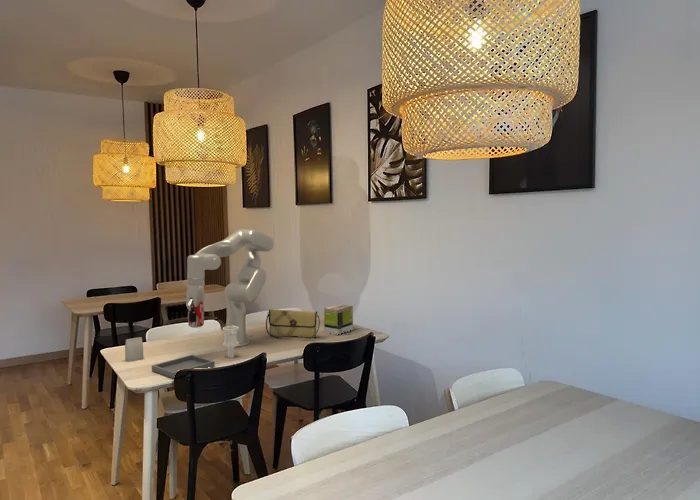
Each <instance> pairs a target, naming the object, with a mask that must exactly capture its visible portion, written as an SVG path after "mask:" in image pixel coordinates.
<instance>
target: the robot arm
mask: <svg viewBox="0 0 700 500" xmlns="http://www.w3.org/2000/svg"><path fill="white" fill-rule="evenodd" d="M274 245H275V242H274V239H273V238H272V237H271V236H270V235H268V234H266V233H264V232H261V231H259V230H256V229H249V228H239V229H237V230H236V231H234V232H233V233H231V234H230V235H228V236H227V237H226V238H224V239H222V240H221V241H218V242H217V241H216V242H215V243H213V244H210V245H207V246H204V247H203V248H201V249H200V250H198V251H197V252H196V253H195V254H190V255H188V256H187V261H186V262H187V263H186V264H187V268H186V271H187V272H186V274H187V278H186V279H187V281H186V282H187V288H186V300H185V302H186V303H185V305H186V307H187V314H188V313H189V322H196V313H195V311H196V307H197V306H198V304H199V302H200V301H202V302H203V304H204V303H205V287H204V286H205V285H206V284H205V280H206V279H205V270H206V271H207V270H208V271H209V270H210V271H214V270H217V269H219V268H220V266H221V264H222V259H221V258H225V257H229V256H232V255H234V254H235V253H236V252H238V251H239V250H241V249H242V248H243V247H244V248H245V253H246V254H245V255H246V256H245V259H244V261H243V263H242V265H241V267H240V268H239V269H238V272H237V273H236V280H237V282H233V283H232V282H231V283H229V284H227V285H226V287H225V288H224V292H223V293H224V299H225V304H226V327H227V326H233V325H234V326H237V327H238V331H237V342H239V345H238V346H236V347H237V348H238V347H239V348H240V347H244V346H247V345H249V343H250V341H249V340H248V339H250V338H253V336H254V334H253V332H252V333H247V328H246V327H247V325H246V322H247V321H246V320H247V319H246V318H247V314H246V313H247V311H246V306H245V304H252V303H254V302H255V301H256V300H257V299H258V296H259V295H260V293H261V292H262V290H263V287H264V286H265V284H266V280H267V272H266V271H265V269H264V268H262V267H261V264H262V257H261V256H260V252H263V253H264V252H265V253H266V252H270V251H273V249H274ZM192 305H195V306H192ZM193 308H194V310H193ZM188 311H189V312H188ZM231 329H233V328H231ZM229 334H230V333H229ZM236 347H235V348H236Z"/></svg>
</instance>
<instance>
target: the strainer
mask: <svg viewBox="0 0 700 500" xmlns="http://www.w3.org/2000/svg"><path fill="white" fill-rule="evenodd" d="M231 328H233V329H231ZM222 331H223V332H224V333H223V335H224V337H223V338H224V341H223V343H222V347H225V348H227V358H231V359H232V358H234V357H235V348H236V346H238V345H239V342H237V331H238V327H237V326H234V325H233V326H227V325H226V326H223V327H222ZM229 333H230V334H229Z"/></svg>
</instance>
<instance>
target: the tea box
mask: <svg viewBox="0 0 700 500" xmlns="http://www.w3.org/2000/svg"><path fill="white" fill-rule="evenodd" d="M353 309H354V308H353V305H349V304H341V303H339V304H336V305H332V306H328V307H324V309H323V310H324V311H323V315H324V316H323V318H324V319H323V322H324V323H323V325H324V330H323V331H324V333H325V332H328V333H333V334H337V335H336V336H339V335H338V334H340V335H342V334H341V333H343V334H345V333H344V332H346V333H348V332H351V331H353V330H354V325H353V324H354V318H353V317H354V316H353V315H354V314H353V312H354V310H353ZM350 330H351V331H350ZM347 331H348V332H347ZM328 333H327V334H328ZM333 334H332V335H333Z"/></svg>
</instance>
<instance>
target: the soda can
mask: <svg viewBox="0 0 700 500" xmlns="http://www.w3.org/2000/svg"><path fill="white" fill-rule="evenodd" d="M192 306H195V305H192ZM193 310H194V308H193ZM188 312H189V311H188V310H187V324H188V327H190V328H195V329H196V328H202V327H203V326H204V324H205V304H204V303H203V302H202V301H200V302H199V304H198V306H197V307H196V311H195V313H196V322H189V313H188Z"/></svg>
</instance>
